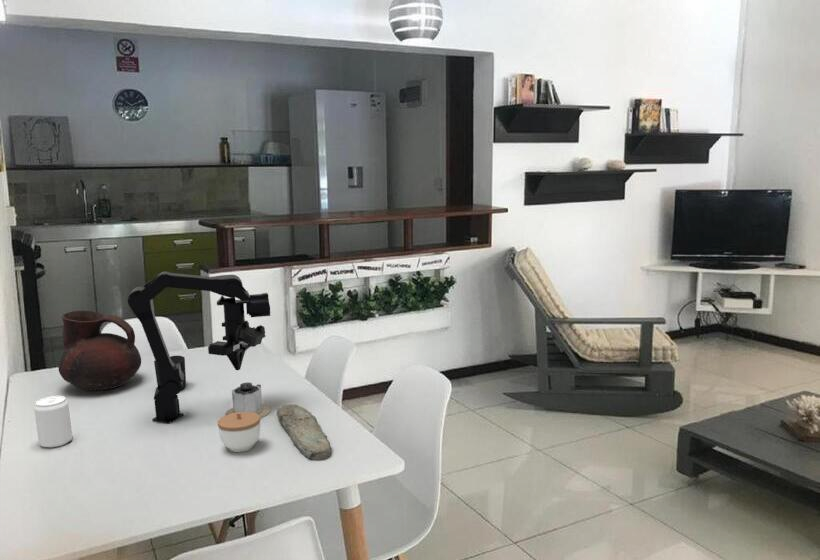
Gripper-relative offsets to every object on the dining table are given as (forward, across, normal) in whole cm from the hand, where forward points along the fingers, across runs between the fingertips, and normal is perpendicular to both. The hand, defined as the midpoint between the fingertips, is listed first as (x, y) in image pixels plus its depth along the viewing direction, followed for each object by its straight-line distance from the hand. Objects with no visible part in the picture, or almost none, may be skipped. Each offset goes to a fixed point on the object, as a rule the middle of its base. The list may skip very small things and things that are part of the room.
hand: (237, 369), depth 202 cm
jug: (+13, +3, +58) cm, 59 cm away
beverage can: (+13, -36, +34) cm, 51 cm away
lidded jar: (+13, -22, -16) cm, 30 cm away
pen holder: (+13, +8, +33) cm, 36 cm away
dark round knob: (+9, -1, -3) cm, 10 cm away
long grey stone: (+13, -10, -27) cm, 32 cm away
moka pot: (+12, -1, -4) cm, 13 cm away
